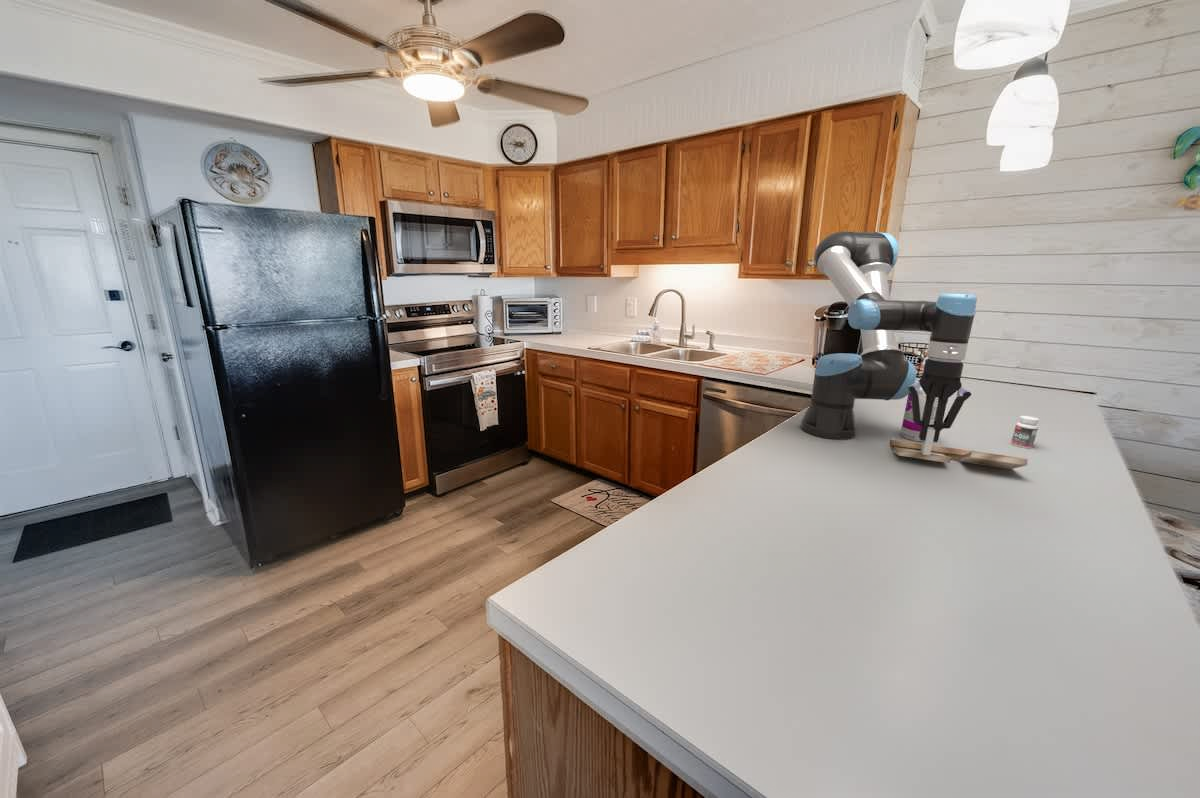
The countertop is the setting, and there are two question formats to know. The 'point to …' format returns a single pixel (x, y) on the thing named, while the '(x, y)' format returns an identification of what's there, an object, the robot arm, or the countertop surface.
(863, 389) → the robot arm
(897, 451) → the plank
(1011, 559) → the countertop surface
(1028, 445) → the pill bottle
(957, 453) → the laid board
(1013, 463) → the plank
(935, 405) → the supplement can
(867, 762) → the countertop surface
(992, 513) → the countertop surface
